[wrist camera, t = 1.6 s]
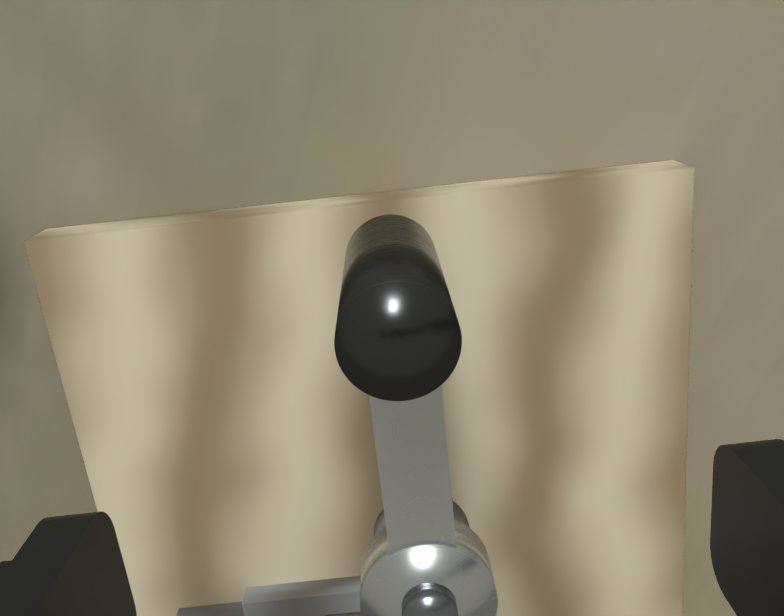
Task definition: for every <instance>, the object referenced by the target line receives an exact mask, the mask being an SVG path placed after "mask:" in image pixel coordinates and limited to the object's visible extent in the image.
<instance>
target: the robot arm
mask: <svg viewBox="0 0 784 616" xmlns="http://www.w3.org/2000/svg"><path fill="white" fill-rule="evenodd" d="M710 550H711V558H712V564H713V568H714V572H715V575H716V578H717V581H718V584H719V586H720V588H721V590H722V593H723V594H724V596H725V598H726V599H727V601H728V602H729V604H730V605H731V607H732V608H733V610H734V611H735V613H736V615H737V616H784V441H783V440H781V439H774V440H764V441H755V442H746V443H737V444H728V445H721V446H720V447H718V449H717V450H716V453H715V456H714V463H713V486H712V512H711V537H710ZM0 616H137V613H136V607H135V602H134V599H133V595H132V591H131V588H130V584H129V580H128V576H127V573H126V569H125V565H124V562H123V558H122V554H121V551H120V547H119V543H118V539H117V536H116V532H115V528H114V525H113V523H112V520H111V518H110V517H109V515H108V514H106V513H105V512H93V513H84V514H74V515H65V516H56V517H47V518H44V519H43V520H41V521H40V522H39V523H38V524H37V526H36V527H35V529H34V530H33V532H32V533H31V534H30V536H29V537H28V539H27V540H26V542H25V543H24V544H23V546H22V547H21V549H20V550H19V552H18V553H17V554H16V556H15V557H14V559H13V560H12V561H4V562H1V563H0Z"/></svg>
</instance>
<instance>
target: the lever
mask: <svg viewBox="0 0 784 616" xmlns="http://www.w3.org/2000/svg"><path fill="white" fill-rule="evenodd" d="M334 347H335V354H336V358H337V361H338V364H339V366H340V368H341V370H342V372H343V373H344V375H345V376H346V377H347V379H348V380H349V381H350V382H351V383H352V384H353V385H354V386H355V387H357V388H358V389H359V390H361V391H362V392H364V393H366V394H368V395H369V399H370V407H371V415H372V423H373V431H374V438H375V446H376V454H377V462H378V470H379V477H380V485H381V493H382V501H383V509H384V516H385V524H386V527H385V528H383V529H382V530H380V531H379V532H378V533H377V534H376V535H375V536H374V537H373V539H372V540H371V541H370V542H369V544H368V546H367V547H366V549H365V552H364V554H363V558H362V562H361V579H360V613H361V616H496V613H497V607H498V597H497V591H496V586H495V582H494V578H493V573H492V569H491V565H490V560H489V556H488V553H487V550H486V547H485V545H484V543H483V542H482V540H481V539H480V538H479V536H478V535H477V534H476V533H475V532H474V531H473V530H472V529H470V528H469V527H468V526H466V525H465V524H463V523H461V522H459V521H457V520H455V519H454V514H453V503H452V492H451V481H450V470H449V460H448V449H447V438H446V427H445V416H444V405H443V395H442V384H443V383H444V382H445V381H446V380H447V379H448V378H449V376H450V375H451V374H452V372H453V371H454V369H455V367H456V365H457V363H458V360H459V357H460V353H461V347H462V335H461V329H460V325H459V322H458V319H457V316H456V313H455V309H454V306H453V303H452V300H451V297H450V294H449V290H448V287H447V284H446V281H445V278H444V275H443V272H442V268H441V265H440V262H439V259H438V256H437V253H436V249H435V246H434V243H433V241H432V239H431V237H430V235H429V234H428V232H427V231H426V230H425V228H423V227H422V226H421V225H420V224H419V223H417V222H416V221H414V220H412V219H410V218H408V217H405V216H401V215H393V214H390V215H381V216H377V217H374V218H372V219H370V220H368V221H366V222H365V223H363V224H362V225H361V226H360V227H359V228H358V229H357V230H356V231H355V232H354V234H353V235H352V236H351V238H350V240H349V242H348V245H347V249H346V254H345V262H344V269H343V277H342V284H341V292H340V299H339V307H338V314H337V322H336V329H335V338H334Z"/></svg>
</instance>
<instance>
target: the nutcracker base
mask: <svg viewBox="0 0 784 616" xmlns="http://www.w3.org/2000/svg"><path fill="white" fill-rule="evenodd" d="M693 197H694V168H693V167H691V166H688V165H685V164H682V163H680V162H677V161H674V160H668V161H659V162H650V163H641V164H632V165H623V166H614V167H605V168H596V169H586V170H577V171H568V172H559V173H550V174H541V175H532V176H523V177H514V178H505V179H496V180H487V181H477V182H468V183H459V184H450V185H441V186H432V187H423V188H414V189H405V190H396V191H387V192H378V193H369V194H359V195H350V196H341V197H332V198H323V199H314V200H305V201H296V202H287V203H278V204H269V205H260V206H250V207H241V208H232V209H223V210H214V211H205V212H196V213H187V214H178V215H169V216H160V217H151V218H141V219H132V220H123V221H114V222H105V223H96V224H87V225H78V226H69V227H60V228H51V229H46V230H44V231H42V232H40V233H38V234H36V235H35V236H33V237H31V238H29V239H27V240H25V241H24V245H25V249H26V253H27V256H28V260H29V263H30V267H31V271H32V274H33V278H34V282H35V285H36V289H37V292H38V296H39V300H40V303H41V307H42V311H43V314H44V318H45V322H46V325H47V329H48V332H49V336H50V340H51V343H52V347H53V351H54V354H55V358H56V361H57V365H58V369H59V372H60V376H61V380H62V383H63V387H64V391H65V394H66V398H67V401H68V405H69V409H70V412H71V416H72V420H73V423H74V427H75V430H76V434H77V438H78V441H79V445H80V449H81V452H82V456H83V460H84V463H85V467H86V470H87V474H88V478H89V481H90V485H91V489H92V492H93V496H94V500H95V503H96V507H97V510H98V512H105V513H106V514H108V515H109V517H110V518H111V520H112V523H113V525H114V528H115V532H116V536H117V539H118V543H119V547H120V551H121V554H122V558H123V562H124V565H125V569H126V573H127V576H128V580H129V584H130V588H131V591H132V595H133V599H134V602H135V607H136V613H137V616H361V613H360V579H361V562H362V558H363V554H364V552H365V549H366V547H367V546H368V544H369V542H370V541H371V540H372V539H373V537H374V536H375V535H376V534H377V533H378V532H379V531H380V530H382V529H383V528H385V527H386V524H385V516H384V509H383V501H382V493H381V485H380V477H379V470H378V462H377V454H376V446H375V438H374V431H373V423H372V415H371V407H370V399H369V395H368V394H366V393H364V392H362V391H361V390H359V389H358V388H357V387H355V386H354V385H353V384H352V383H351V382H350V381H349V380H348V379H347V377H346V376H345V375H344V373H343V372H342V370H341V368H340V366H339V364H338V361H337V358H336V354H335V347H334V338H335V329H336V322H337V314H338V307H339V299H340V292H341V284H342V277H343V269H344V262H345V254H346V249H347V245H348V242H349V240H350V238H351V236H352V235H353V234H354V232H355V231H356V230H357V229H358V228H359V227H360V226H361V225H362V224H363V223H365V222H366V221H368V220H370V219H372V218H374V217H377V216H381V215H390V214H393V215H401V216H405V217H408V218H410V219H412V220H414V221H416V222H417V223H419V224H420V225H421V226H422V227H423V228H425V230H426V231H427V232H428V234H429V235H430V237H431V239H432V241H433V243H434V246H435V249H436V253H437V256H438V259H439V262H440V265H441V268H442V272H443V275H444V278H445V281H446V284H447V287H448V290H449V294H450V297H451V300H452V303H453V306H454V309H455V313H456V316H457V319H458V322H459V325H460V329H461V335H462V347H461V353H460V357H459V360H458V363H457V365H456V367H455V369H454V371H453V372H452V374H451V375H450V376H449V378H448V379H447V380H446V381H445V382H444V383H443V384H442V395H443V405H444V416H445V427H446V438H447V449H448V460H449V470H450V481H451V492H452V503H453V514H454V519H455V520H457V521H459V522H461V523H463V524H465V525H466V526H468V527H469V528H470V529H472V530H473V531H474V532H475V533H476V534H477V535H478V536H479V538H480V539H481V540H482V542H483V543H484V545H485V547H486V550H487V553H488V556H489V560H490V565H491V569H492V573H493V578H494V582H495V586H496V591H497V597H498V607H497V613H496V616H682V609H683V572H684V535H685V497H686V460H687V422H688V385H689V347H690V310H691V272H692V235H693Z"/></svg>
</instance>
